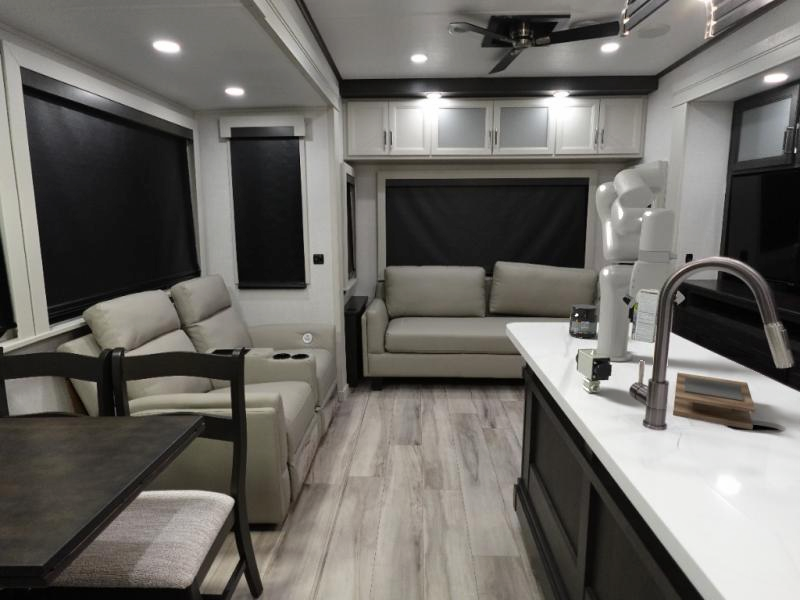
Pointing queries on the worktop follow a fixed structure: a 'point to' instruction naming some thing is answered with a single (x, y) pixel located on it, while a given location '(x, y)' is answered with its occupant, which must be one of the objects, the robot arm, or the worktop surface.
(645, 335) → the syrup box
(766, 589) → the worktop surface
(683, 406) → the walnut stand
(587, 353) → the pneumatic valve
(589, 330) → the supplement container
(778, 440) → the worktop surface
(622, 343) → the robot arm
